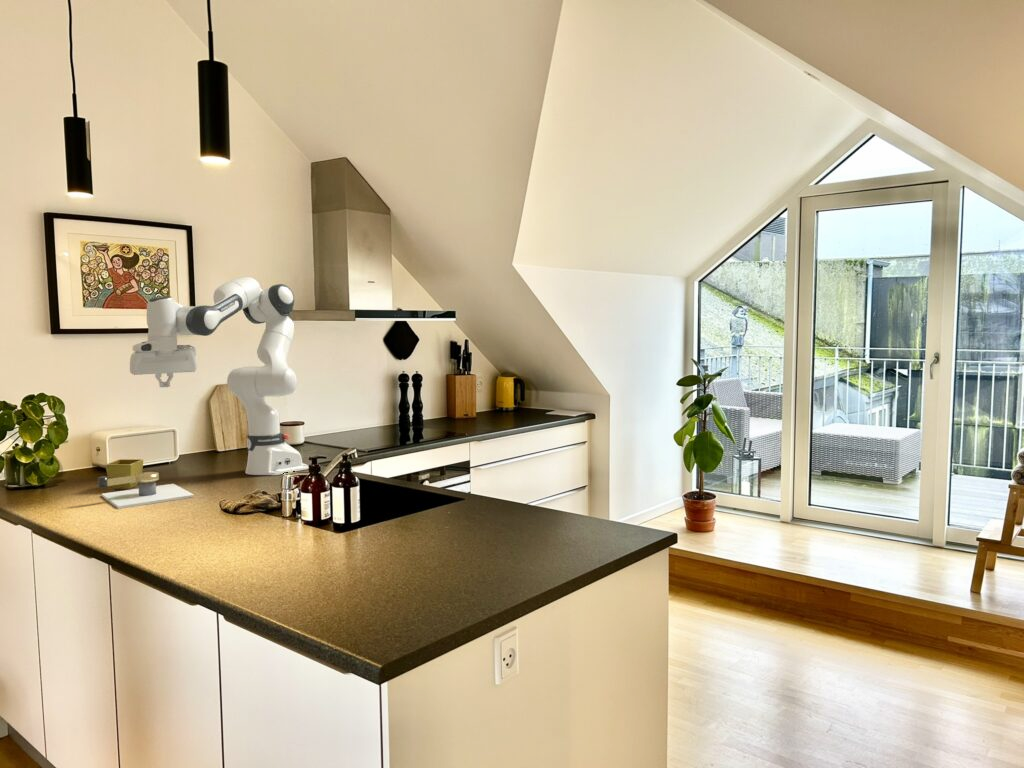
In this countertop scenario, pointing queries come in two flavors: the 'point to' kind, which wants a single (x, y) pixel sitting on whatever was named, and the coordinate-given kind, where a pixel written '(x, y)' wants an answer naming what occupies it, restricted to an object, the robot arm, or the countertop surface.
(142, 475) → the locking lever
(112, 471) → the flower pot
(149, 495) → the base
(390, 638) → the countertop surface
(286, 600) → the countertop surface
